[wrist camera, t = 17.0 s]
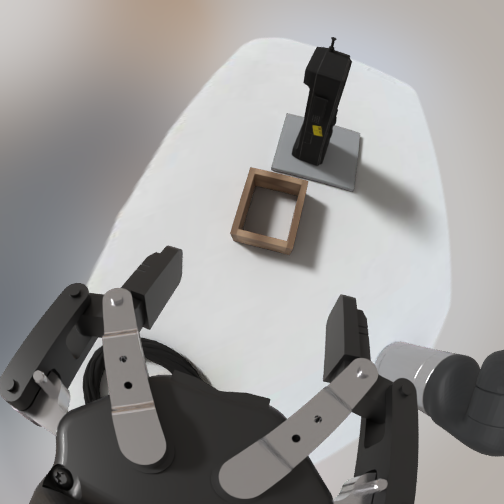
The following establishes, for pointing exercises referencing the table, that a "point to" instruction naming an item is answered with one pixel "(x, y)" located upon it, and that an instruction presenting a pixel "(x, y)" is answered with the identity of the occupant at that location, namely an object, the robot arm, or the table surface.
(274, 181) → the walnut collar
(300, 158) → the portable radio
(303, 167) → the slate mat
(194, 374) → the cable lock
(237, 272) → the table surface
